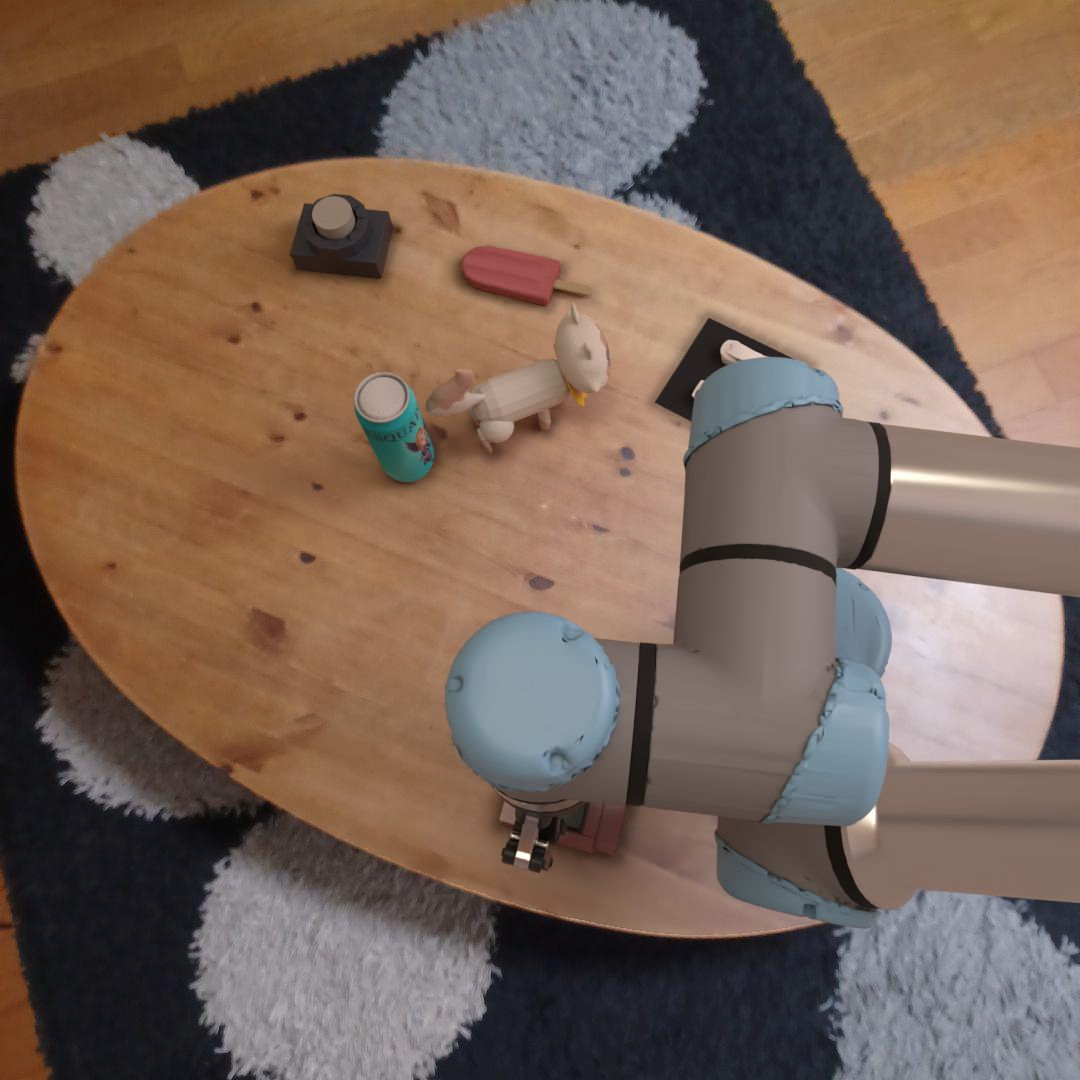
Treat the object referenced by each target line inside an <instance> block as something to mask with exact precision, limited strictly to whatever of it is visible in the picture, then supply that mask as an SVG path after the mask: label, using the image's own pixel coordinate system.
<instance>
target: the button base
mask: <svg viewBox="0 0 1080 1080" xmlns="http://www.w3.org/2000/svg"><path fill="white" fill-rule="evenodd" d="M330 196H337V197H341V198H343V199H345V200H346V201H348V202H349V204H350V206H351V208H352V211H353V214H354V217H355V227H354V229H353V231H352V232H351V233H350V234H349V235H348V236H346V237H344V238H342V239H339V240H329V239H326V238H324V237H322V236H321V235H320V234H319V233H318V231H317V229H316V226H315V224H314V221H313V219H312V211H313V208H314V206H315V205H316V204H317V203H318V202H319V201H320V200H322V199H324V198H326V197H330ZM298 220H299V221H298V224H297V226H296V230H295V234H294V237H293V241H292V244H291V249H290V252H289V255H290V258H291V261H292V262H293V265H294V266H295V268H296V270H298V271H305V272H306V271H307V272H314V273H315V272H316V273H326V274H335V275H345V276H354V277H362V278H364V277H365V278H372V279H382V277H383V273H384V269H385V265H386V261H387V256H388V252H389V248H390V244H391V240H392V236H393V232H394V225H393V222H392V218H391V215H390V212H389V211H387V210H378V209H369V208H368V209H367V208H366V206H365V204H364V203H362V202H361V201H360V200H358V199H357V198H356V197H354V196H352V195H350V194H341V193H332V194H329V195H327V196H326V195H325V196H323V197H320V198H318V199H316V201H314V202H313V203H308V202H304V203H303V205H302V210H301V213H300V216H299V219H298Z"/></svg>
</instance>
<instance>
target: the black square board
mask: <svg viewBox="0 0 1080 1080" xmlns="http://www.w3.org/2000/svg"><path fill="white" fill-rule="evenodd" d="M762 357H781V358H789V359H794V358H793V357H791V356H789V355H787V354H785V353H783V352H781V351H779V350H777V349H774V348H773V347H770V346H768V345H766V344H764V343H762V342H760V341H758V340H756V339H754V338H752V337H750V336H748V335H746V334H744V333H742V332H739V331H737V330H735V329H733V328H731V327H729V326H727V325H725V324H723V323H721V322H720V321H717V320H715V319H713V318H711V317H708V318H707V320H706V321H705V323H704V325H703V326H702V327H701V330H700V331H699V333H698V334H697V336H696V337H695V339H694V341H693V342H692V343H691V345H690V346H689V348H688V350H687V351H686V353H685V355H684V356H683V358H682V359H681V361H680V363H678V366H677V367H676V368H675V370H674V372H673V373H672V375H671V377H670V378H669V379H668V381H667V383H666V384H665V386H664V388H663V389H662V391H661V392H660V394H659V395H658V396H657V399H656V400H655V402H654V403H655V404H657V405H659V406H661V407H663V408H664V409H667V410H669V411H671V412H672V413H675V414H677V415H678V416H680V417H683V418H685V419H687V420H689V421H690V422H691V421H692V413H693V405H694V397H695V393H696V391H697V390H699V388H700V387H701V385H702V383H703V382H704V381H705V380H706V379H707V378H708V377H709V376H710V375H711V374H713V373H714V372H715V371H717V370H719V369H720V368H722V367H724V366H727V365H729V364H732V363H735V362H738V361H742V360H746V359H752V358H762Z"/></svg>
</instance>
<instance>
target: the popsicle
mask: <svg viewBox="0 0 1080 1080" xmlns="http://www.w3.org/2000/svg"><path fill="white" fill-rule="evenodd" d="M560 271H561V261H560V260H558V259H555V258H549V257H545V256H541V255H535V254H531V253H527V252H521V251H517V250H511V249H506V248H502V247H497V246H490V245H483V246H481V245H480V246H476V247H474V248H471V249H470V250H468V251H467V253H466V254H465V255H464V256H463V258H462V261H461V273H462V276H463V278H464V280H465V282H466V283H468V284H469V285H470V286H472V287H473V288H475V289H478V290H481V291H486V292H489V293H493V294H496V295H501V296H504V297H509V298H511V299H516V300H520V301H524V302H529V303H533V304H537V305H541V306H545V307H547V306H548V305H549V304H550V301H551V298H552V295H553V292H554V290H558V291H563V292H568V293H572V294H577V295H580V296H585V297H587V296H590V295H591V293H592V288H591V286H590V285H585V284H581V283H577V282H572V281H568V280H564V279H563V280H562V279H559V275H560Z"/></svg>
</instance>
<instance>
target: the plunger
mask: <svg viewBox="0 0 1080 1080" xmlns="http://www.w3.org/2000/svg"><path fill="white" fill-rule="evenodd" d="M325 197H326V196H325ZM312 219H313V221H314V224H315V226H316V229H317V231H318V233H319V234H320V235H321V236H322V237H324V238H326V239H329V240H339V239H342V238H344V237H346V236H348V235H349V234H350V233H351V232H352V231H353V229H354V227H355V217H354V214H353V211H352V208H351V206H350V204H349V202H348V201H346V200H345V199H343V198H341V197H337V196H330V197H326V198H324V199H322V200H320V201H319V202H318V203H317V204H316V205H315V206H314V208H313V211H312Z"/></svg>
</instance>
